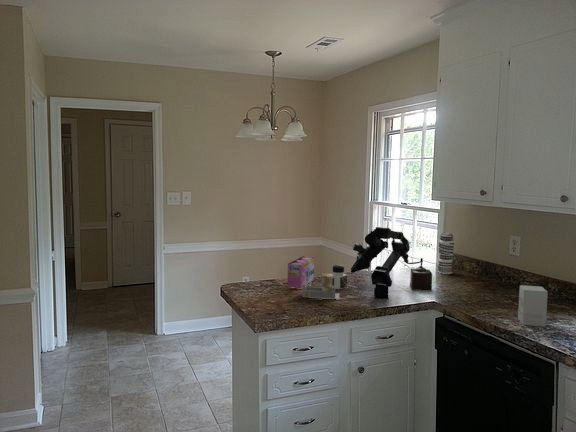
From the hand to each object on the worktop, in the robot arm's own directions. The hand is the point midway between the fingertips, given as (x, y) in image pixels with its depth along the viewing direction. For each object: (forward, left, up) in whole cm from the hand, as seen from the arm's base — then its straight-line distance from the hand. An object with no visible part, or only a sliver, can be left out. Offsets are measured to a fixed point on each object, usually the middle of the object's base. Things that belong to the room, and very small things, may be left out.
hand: (351, 271), depth 230 cm
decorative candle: (-59, -69, -14) cm, 92 cm away
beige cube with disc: (+11, 0, -12) cm, 17 cm away
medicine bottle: (+7, -20, -14) cm, 25 cm away
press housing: (+15, 0, -14) cm, 20 cm away
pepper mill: (-35, -27, -14) cm, 47 cm away
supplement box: (-75, +26, -14) cm, 81 cm away
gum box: (+27, -24, -14) cm, 39 cm away
